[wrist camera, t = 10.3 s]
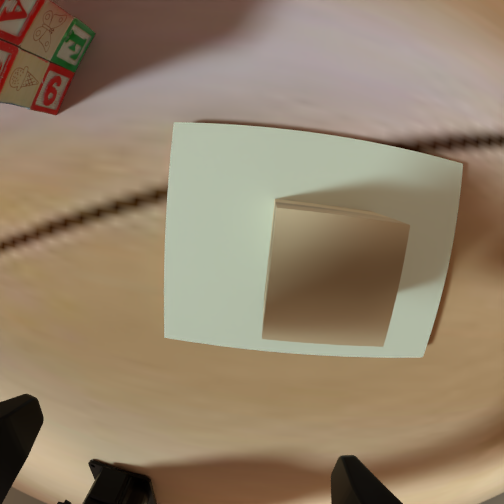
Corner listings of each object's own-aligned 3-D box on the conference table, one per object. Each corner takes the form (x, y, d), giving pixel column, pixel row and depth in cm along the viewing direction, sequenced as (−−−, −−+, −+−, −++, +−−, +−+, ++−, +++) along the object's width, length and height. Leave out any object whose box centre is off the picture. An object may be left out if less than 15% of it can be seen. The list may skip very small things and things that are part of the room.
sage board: (415, 348, 19) (422, 357, 17) (170, 328, 19) (164, 337, 18) (452, 164, 16) (462, 163, 15) (180, 125, 16) (173, 122, 15)
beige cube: (355, 302, 17) (383, 346, 12) (264, 294, 17) (261, 338, 12) (370, 211, 16) (410, 224, 11) (274, 198, 16) (276, 207, 11)
